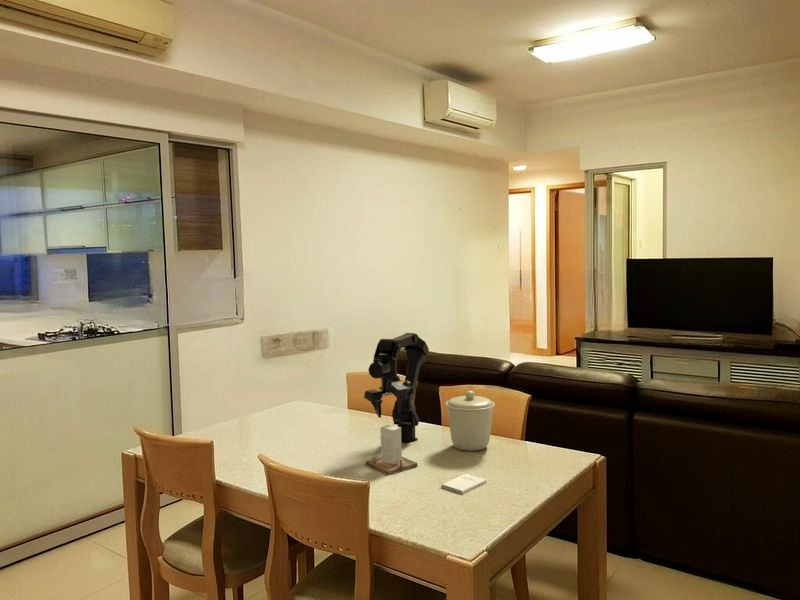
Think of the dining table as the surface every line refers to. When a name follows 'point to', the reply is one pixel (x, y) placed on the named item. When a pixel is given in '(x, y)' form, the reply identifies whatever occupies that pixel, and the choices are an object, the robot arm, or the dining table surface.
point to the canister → (470, 421)
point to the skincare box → (391, 444)
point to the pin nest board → (390, 465)
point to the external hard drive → (464, 483)
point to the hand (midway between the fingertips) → (390, 415)
